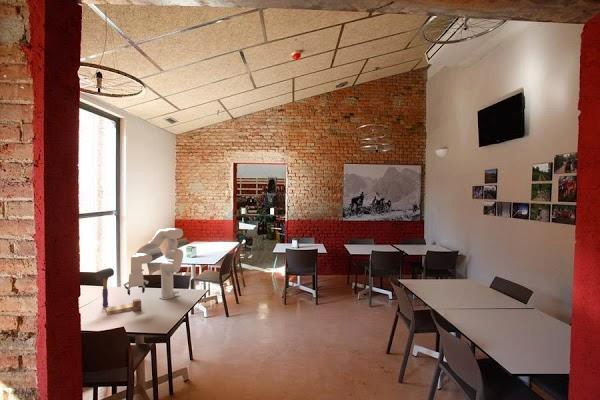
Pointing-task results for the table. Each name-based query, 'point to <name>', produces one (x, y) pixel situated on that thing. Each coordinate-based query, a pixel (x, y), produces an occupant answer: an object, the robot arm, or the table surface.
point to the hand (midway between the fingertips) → (136, 293)
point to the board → (119, 308)
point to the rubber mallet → (104, 282)
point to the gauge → (136, 305)
